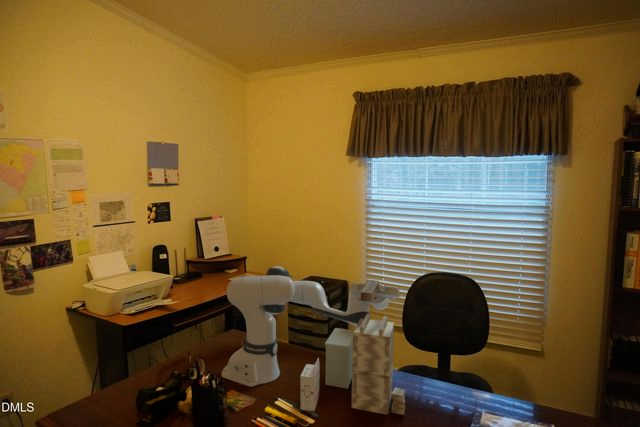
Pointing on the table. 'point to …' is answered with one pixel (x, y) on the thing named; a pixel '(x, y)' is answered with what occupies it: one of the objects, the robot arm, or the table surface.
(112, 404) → the table surface
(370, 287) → the walnut strip
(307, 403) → the ink cartridge box
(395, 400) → the offcut stack
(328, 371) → the pale grey upright box
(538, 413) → the table surface
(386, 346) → the birch rack
